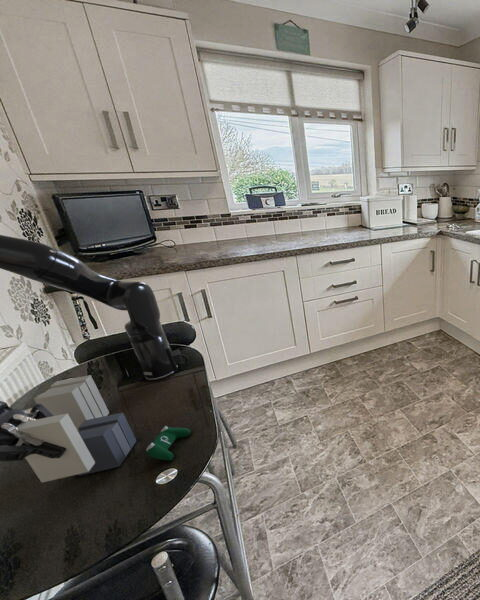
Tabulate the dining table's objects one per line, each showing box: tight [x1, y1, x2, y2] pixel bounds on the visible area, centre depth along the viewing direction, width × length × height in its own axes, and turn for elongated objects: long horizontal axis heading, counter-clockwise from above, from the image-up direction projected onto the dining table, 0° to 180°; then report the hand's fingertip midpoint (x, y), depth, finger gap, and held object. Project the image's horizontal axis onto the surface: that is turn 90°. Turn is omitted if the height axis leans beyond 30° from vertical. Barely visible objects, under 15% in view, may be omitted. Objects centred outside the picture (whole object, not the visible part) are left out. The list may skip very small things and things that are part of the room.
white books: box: [33, 374, 110, 431], centre depth 88 cm, size 8×8×13 cm
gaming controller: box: [145, 425, 191, 461], centre depth 79 cm, size 9×4×6 cm
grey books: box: [77, 412, 137, 477], centre depth 77 cm, size 8×8×9 cm
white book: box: [16, 413, 95, 484], centre depth 64 cm, size 2×8×13 cm, turn 105°
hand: (68, 447), depth 65 cm, fingers closed on white book, 2 cm apart
